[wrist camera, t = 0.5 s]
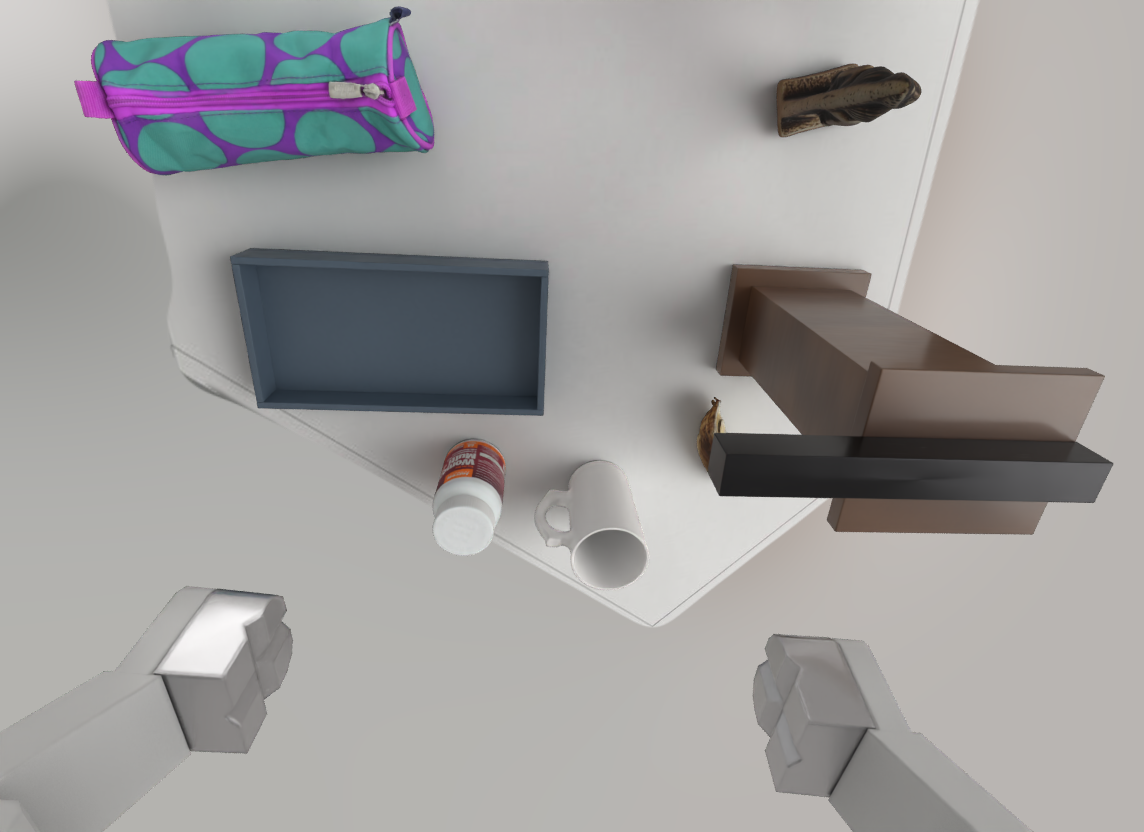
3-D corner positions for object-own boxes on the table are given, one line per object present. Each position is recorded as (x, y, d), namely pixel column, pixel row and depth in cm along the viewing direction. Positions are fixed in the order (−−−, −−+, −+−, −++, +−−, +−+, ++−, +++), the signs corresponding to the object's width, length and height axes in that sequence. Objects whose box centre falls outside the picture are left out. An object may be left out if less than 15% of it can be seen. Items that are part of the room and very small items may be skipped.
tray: (250, 247, 51) (229, 256, 48) (548, 260, 53) (548, 269, 50) (274, 391, 57) (257, 408, 54) (543, 399, 59) (543, 416, 55)
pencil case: (422, 20, 45) (395, -6, 36) (443, 149, 49) (423, 154, 40) (142, 46, 45) (47, 26, 36) (185, 174, 49) (108, 184, 40)
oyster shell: (714, 431, 66) (693, 388, 58) (748, 437, 64) (732, 393, 56) (699, 482, 64) (676, 444, 56) (734, 489, 62) (715, 451, 54)
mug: (637, 463, 62) (658, 534, 51) (621, 517, 65) (637, 595, 54) (541, 447, 61) (541, 516, 50) (528, 502, 64) (526, 579, 53)
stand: (732, 264, 54) (881, 368, 30) (863, 270, 55) (1106, 375, 31) (715, 369, 58) (834, 532, 35) (836, 373, 59) (1033, 535, 36)
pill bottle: (473, 425, 60) (459, 487, 49) (518, 464, 62) (514, 530, 51) (432, 464, 61) (410, 532, 51) (477, 500, 63) (465, 572, 53)
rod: (713, 432, 32) (726, 454, 29) (1076, 441, 33) (1114, 463, 31) (707, 472, 33) (718, 496, 30) (1059, 479, 34) (1094, 503, 32)
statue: (853, 120, 49) (1033, 115, 31) (766, 141, 50) (895, 148, 32) (852, 62, 48) (1042, 22, 30) (762, 84, 48) (896, 58, 30)
